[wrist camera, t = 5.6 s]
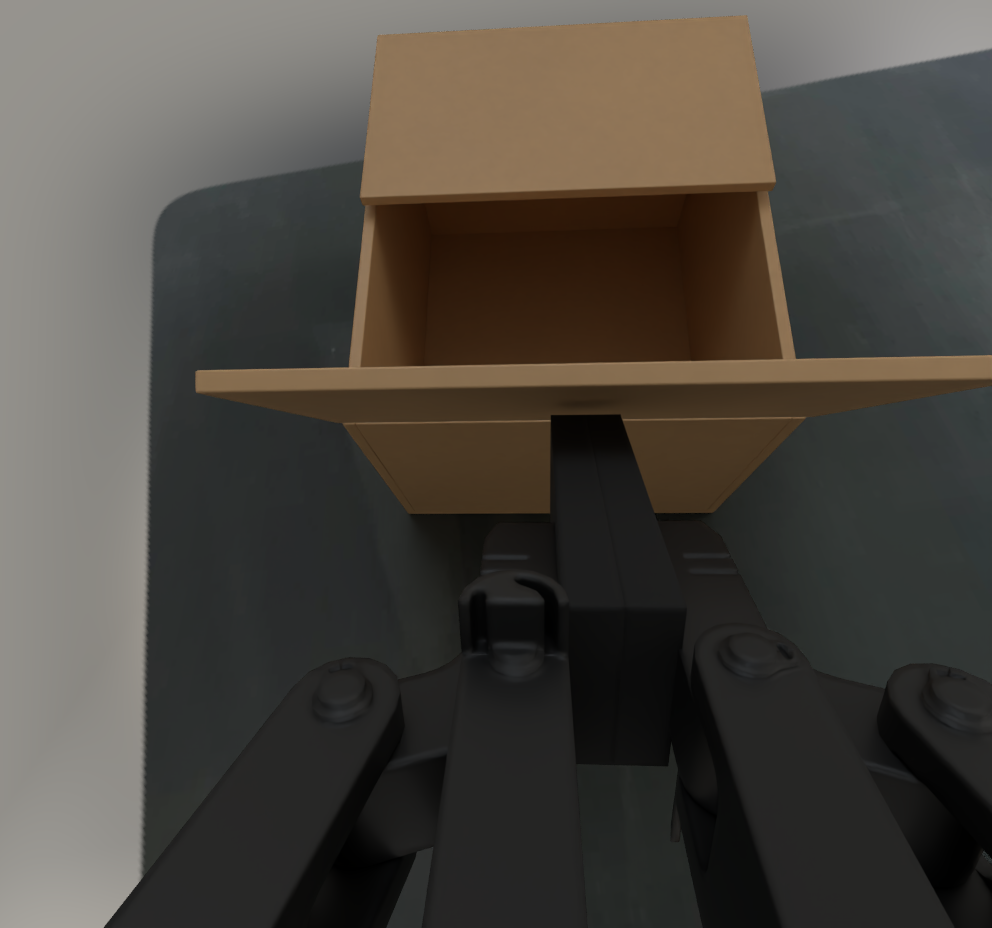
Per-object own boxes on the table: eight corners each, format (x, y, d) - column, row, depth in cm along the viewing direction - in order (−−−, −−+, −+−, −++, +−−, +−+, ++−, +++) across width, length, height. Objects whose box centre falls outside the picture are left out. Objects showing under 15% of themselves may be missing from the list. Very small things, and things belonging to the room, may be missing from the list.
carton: (713, 513, 28) (817, 407, 18) (408, 514, 29) (334, 414, 18) (682, 226, 33) (748, 13, 23) (425, 234, 34) (376, 33, 24)
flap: (814, 402, 18) (814, 417, 18) (336, 409, 19) (337, 423, 19) (1030, 354, 10) (1030, 380, 10) (194, 370, 11) (194, 393, 11)
